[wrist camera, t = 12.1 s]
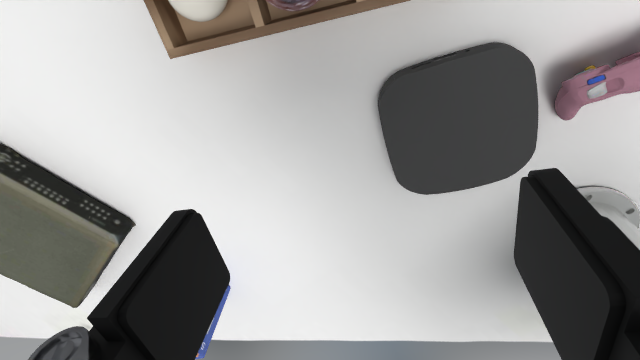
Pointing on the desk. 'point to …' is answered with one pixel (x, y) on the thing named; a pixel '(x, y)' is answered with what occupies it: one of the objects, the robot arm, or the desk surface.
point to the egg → (199, 9)
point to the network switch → (53, 232)
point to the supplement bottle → (292, 4)
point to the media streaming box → (460, 119)
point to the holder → (244, 22)
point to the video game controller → (598, 85)
